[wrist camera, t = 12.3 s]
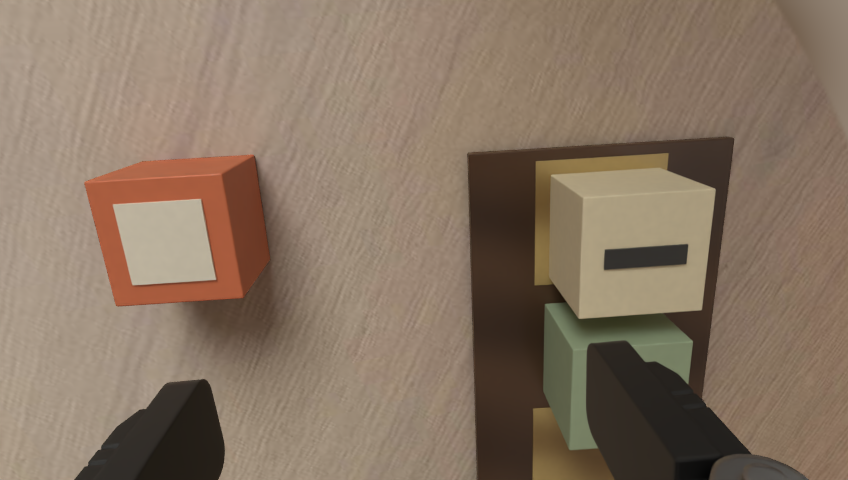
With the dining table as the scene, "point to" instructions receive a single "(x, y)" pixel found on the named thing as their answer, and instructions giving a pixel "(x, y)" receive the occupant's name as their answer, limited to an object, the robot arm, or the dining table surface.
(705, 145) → the word board
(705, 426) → the robot arm
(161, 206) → the orange cube with label
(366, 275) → the dining table surface
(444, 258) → the dining table surface
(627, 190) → the cream cube with slot
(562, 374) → the green letter block
